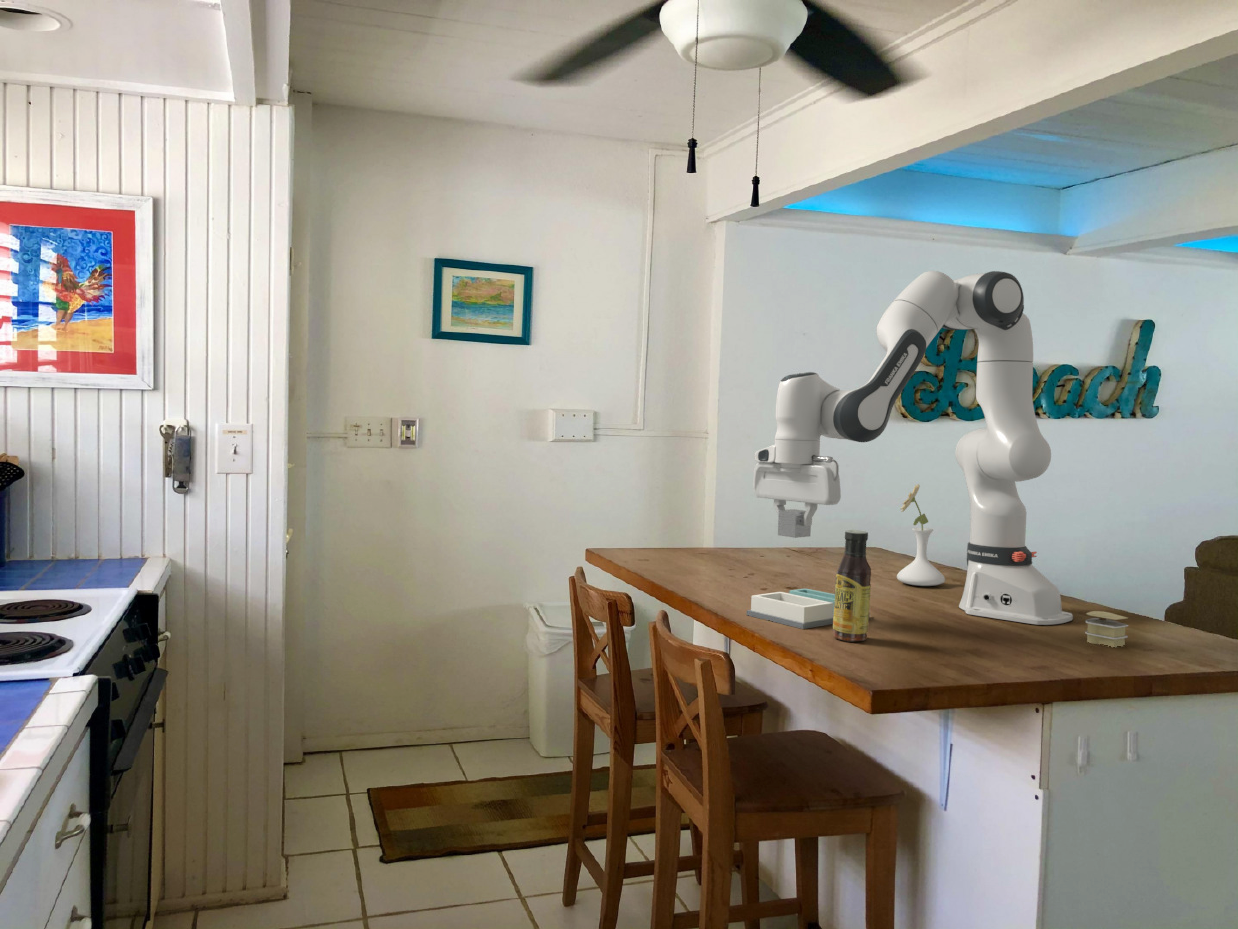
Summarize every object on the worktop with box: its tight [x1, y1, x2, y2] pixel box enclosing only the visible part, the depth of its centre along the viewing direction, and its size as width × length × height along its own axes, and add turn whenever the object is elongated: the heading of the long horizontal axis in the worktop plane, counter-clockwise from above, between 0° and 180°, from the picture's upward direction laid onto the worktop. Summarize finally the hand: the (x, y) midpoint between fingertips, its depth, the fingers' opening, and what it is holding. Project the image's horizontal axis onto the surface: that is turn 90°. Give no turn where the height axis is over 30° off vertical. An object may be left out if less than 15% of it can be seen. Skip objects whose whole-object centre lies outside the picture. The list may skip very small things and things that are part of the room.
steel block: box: [777, 508, 812, 539], centre depth 192 cm, size 4×4×5 cm
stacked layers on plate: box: [1084, 610, 1129, 648], centre depth 179 cm, size 10×9×6 cm
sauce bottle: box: [832, 529, 872, 643], centre depth 176 cm, size 6×6×20 cm
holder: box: [746, 588, 871, 630], centre depth 196 cm, size 15×20×4 cm
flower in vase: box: [896, 483, 946, 587], centre depth 237 cm, size 13×11×25 cm
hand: (794, 524), depth 192 cm, fingers closed on steel block, 4 cm apart
